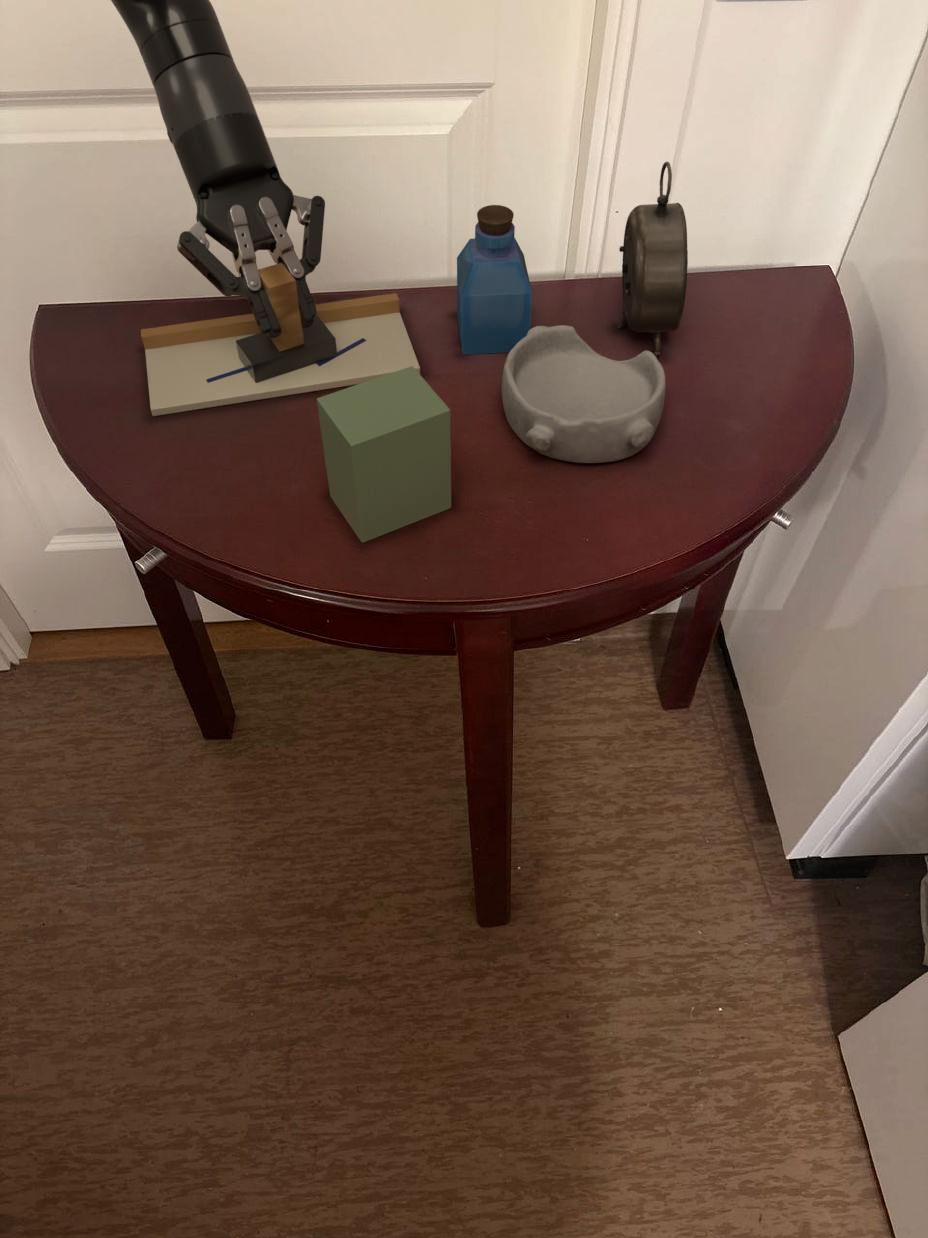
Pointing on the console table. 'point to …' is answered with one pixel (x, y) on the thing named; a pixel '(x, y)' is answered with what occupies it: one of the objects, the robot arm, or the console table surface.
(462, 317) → the perfume bottle
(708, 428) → the console table surface
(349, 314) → the board
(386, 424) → the block
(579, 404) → the dish
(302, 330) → the eraser
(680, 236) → the alarm clock
